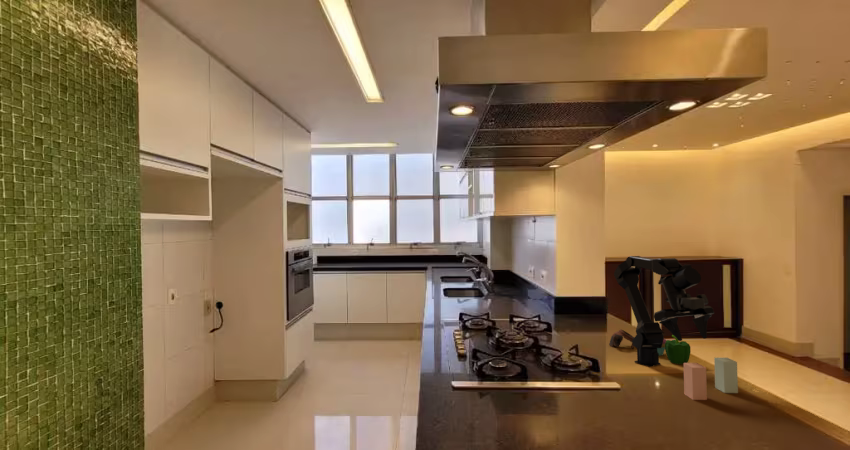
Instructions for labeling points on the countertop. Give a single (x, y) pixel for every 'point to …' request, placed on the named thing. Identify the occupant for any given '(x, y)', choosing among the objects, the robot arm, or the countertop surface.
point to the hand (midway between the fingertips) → (693, 339)
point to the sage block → (726, 375)
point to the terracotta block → (695, 381)
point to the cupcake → (661, 350)
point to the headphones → (620, 338)
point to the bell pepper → (677, 351)
